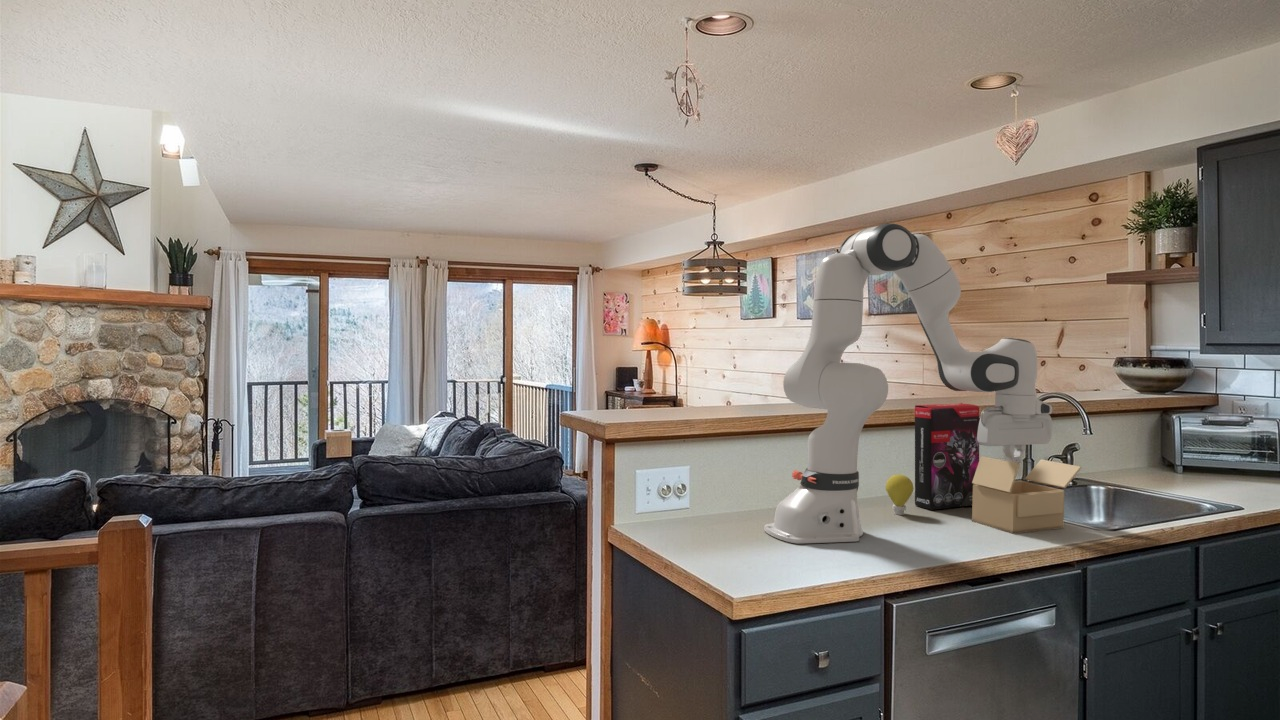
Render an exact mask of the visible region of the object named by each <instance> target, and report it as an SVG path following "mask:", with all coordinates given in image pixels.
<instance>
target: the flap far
mask: <svg viewBox="0 0 1280 720" xmlns="http://www.w3.org/2000/svg"><path fill="white" fill-rule="evenodd" d="M1081 469H1082V467H1081V466H1079V465H1073V464H1069V463H1064V462H1057V461H1052V460H1047V459H1040V460H1039V461H1038V462H1037V463H1036V465H1035V466H1034V467H1033V468H1032V469H1031V470H1030V472H1029V473H1028V474H1027V476H1025V477H1024V479H1025V480H1026V481H1029V482H1033V483H1039V484H1043V485H1048V486H1050V487H1056V488H1062V489H1066V488H1067V487H1068V486H1069V484H1070V483H1071V482H1072V480H1073V479H1074V478H1075V477H1076V475H1077V474H1078V473H1079V472H1080V471H1081Z"/></svg>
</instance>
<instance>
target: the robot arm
mask: <svg viewBox="0 0 1280 720" xmlns="http://www.w3.org/2000/svg"><path fill="white" fill-rule="evenodd" d="M890 272H891V273H894V274H895V275H896V276H897V277H898V278H899V280H900V281H901V283H902V285H903V287H904V289H905V291H906V293H907V294H908V297H909V298H910V299H911V302H912V304H913V306H914V307H915V310H916V315H917V318H918V320H919V323H920V326H921V328H922V330H923V332H924V334H925V337H926V339H927V340H928V343H929V344H930V345H929V346H930V347H931V349H932V351H933V353H934V356H935V358H936V362H937V369H938V370H937V371H938V375H939V377H940V378H939V379H940V381H941V382H942V384H943V385H944V386H945V387H947V389H949V390H951V391H955V392H974V393H993V392H994V394H995V395H994V396H995V397H994V406H987V407H985V409H983V410H982V411H981V414H980V417H979V426H978V433H977V441H978V443H979V446H985V447H1002V451H1003V453H1004V455H1005V461H1009V462H1014V463H1019V464H1020V465H1021V463H1022V457H1023V455H1024V453H1025V451H1026V449H1027V448H1026V446H1027V445H1045V444H1046V445H1047V444H1049V443H1050V442H1051V440H1052V436H1053V435H1052V434H1053V433H1052V432H1053V421H1052V417H1051V414H1052V413H1053V406H1052V405H1051V404H1049V403H1046V402H1044V401H1042V400H1041V399H1040V400H1039V399H1037V397H1038V396H1037V395H1038V394H1037V390H1036V381H1037V378H1038V354H1037V350H1036V347H1035V345H1034V343H1032V342H1031V341H1029V340H1025V339H1020V338H1014V337H1004V338H1001V339H1000V340H999V341H998V342H997V343H996V344H994V345H992V346H990V347H989V348H986V349H983V350H981V351H969V350H967V349H965V348H964V347H963V346H962V345H961V344H960V342H959V340H958V338H957V335H956V333H955V331H954V328H953V326H952V325H951V322H950V318H949V314H950V312H951V310H952V309H953V308H954V307H955V306H956V305H957V303H959V302H958V301H959V300H960V297H961V293H962V288H961V285H960V282H959V279H958V277H957V275H956V273H955V272H954V269H953V268H952V266H951V264H950V263H949V261H948V259H947V258H946V256H945V255H944V254H943V252H942V251H941V250H940V248H939V247H938V246H937V244H935V242H934V241H933V240H932V239H931V238H930V237H929V236H927V235H925V234H922V233H915V234H913V233H912V232H910V230H908V229H907V228H906V227H905V226H904V225H901V224H897V223H882V224H880V225H877V226H870V227H866V228H864V229H861V230H859V231H857V232H855V233H852V234H851V235H849V236H848V237H847V238H845V240H843V242H842V243H841V244H840V246H839V249H838V251H837V252H836V253H833V254H832V253H831V254H829V255H828V256H825V257H824V258H823V259H822V260H821V261H820V264H819V266H818V270H817V274H816V277H815V278H816V279H815V284H814V289H813V290H814V291H813V303H812V304H813V305H812V307H813V308H812V319H811V327H810V328H811V329H810V333H809V337H808V341H807V343H806V345H805V348H804V350H803V351H802V354H801V356H800V357H799V358H798V360H796V361H795V363H794V364H791V365H790V366H789V368H788V369H787V370H786V372H785V375H784V377H783V380H782V383H783V384H782V385H783V387H782V388H783V391H784V393H785V396H786V398H787V399H788V400H789V401H790V402H792V403H793V404H797V405H799V406H802V407H806V408H810V409H821V410H827V415H826V417H825V420H824V422H823V424H822V425H820V426H818V427H815V429H813V430H812V431H811V432H810V434H809V435H808V438H807V467H806V469H805V471H804V472H802V471H799V470H793V472H792V473H791V478H792V479H794V480H797V481H800V483H799V484H800V485H799V486H798V487H797V488H796V489H795V490H793V491H792V492H791V493H789V495H787V496H786V497H785V498H783V499H782V500H781V501H780V502H779V503H778V504H777V505H776V509H775V512H774V519H773V522H770V523H766V524H764V527H763V529H764V532H765V533H766V534H768V535H769V536H772V537H773V538H776V539H778V540H781V541H785V542H787V543H792V544H822V543H824V544H825V543H826V544H827V543H849V542H860V537H861V536H863V535H864V531H863V527H862V524H861V518H860V511H859V501H858V490H859V487H860V486H859V484H860V475H859V474H860V472H859V471H858V455H859V454H858V453H859V442H860V436H861V433H862V430H863V427H864V425H865V424H866V422H867V421H868V419H869V418H870V417H871V415H872V414H873V413H875V412H876V411H877V410H879V409H880V408H881V407H882V406H883V405H884V404H885V402H886V400H887V397H888V395H889V382H888V380H887V378H886V375H885V373H884V372H883V371H882V370H881V369H880V368H879V367H875V366H871V365H869V364H864V363H860V362H859V363H858V362H841V359H842V356H843V354H844V352H845V351H846V349H847V348H849V346H851V345H852V344H854V343H856V342H857V341H858V340H859V339H860V337H861V335H862V333H863V332H862V331H863V328H862V327H863V314H864V313H863V311H864V288H865V284H866V281H867V279H868V278H869V277H870V276H880V275H884V274H886V273H890ZM1013 451H1014V452H1013Z"/></svg>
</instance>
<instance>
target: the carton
mask: <svg viewBox="0 0 1280 720" xmlns="http://www.w3.org/2000/svg"><path fill="white" fill-rule="evenodd" d="M971 506H972V507H971V508H972V509H971V512H972V513H971V522H973V521H974V523H976V522H977V523H976V524H980V525H983V524H984V526H986V525H987V526H986V527H989V526H990V528H993V529H996V530H999V531H1003V532H1007V533H1009V534H1013V535H1014V534H1020V533H1021V534H1024V533H1030V532H1031V533H1032V532H1039V531H1049V530H1056V529H1064V524H1065V523H1064V522H1065V521H1064V519H1065V518H1064V517H1065V490H1064V489H1060V488H1057V487H1056V488H1055V487H1053V486H1046V485H1044V484H1043V485H1041V484H1037V483H1035V482H1033V483H1032V482H1030V481H1029V482H1028V481H1024V480H1018V481H1017V480H1015V481H1014V484H1013V487H1012V490H1011V493H1010V492H1006V491H1002V490H998V489H994V488H989V487H985V486H981V485H977V484H974V485H973V501H972V505H971Z"/></svg>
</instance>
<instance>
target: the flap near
mask: <svg viewBox="0 0 1280 720" xmlns="http://www.w3.org/2000/svg"><path fill="white" fill-rule="evenodd" d="M1020 465H1021V463H1020V464H1019V463H1014V462H1009V461H1006V460H1003V459H998V458H993V457H987V456H983V455H980V456H979V463H978V466H977V469H976V472H975V475H974V478H973V481H972V483H973V484H977V485H981V486H985V487H989V488H994V489H998V490H1002V491H1006V492H1010V493H1011V490H1012V487H1013V484H1014V481H1016V478H1017V474H1018V471H1019V469H1020Z"/></svg>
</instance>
